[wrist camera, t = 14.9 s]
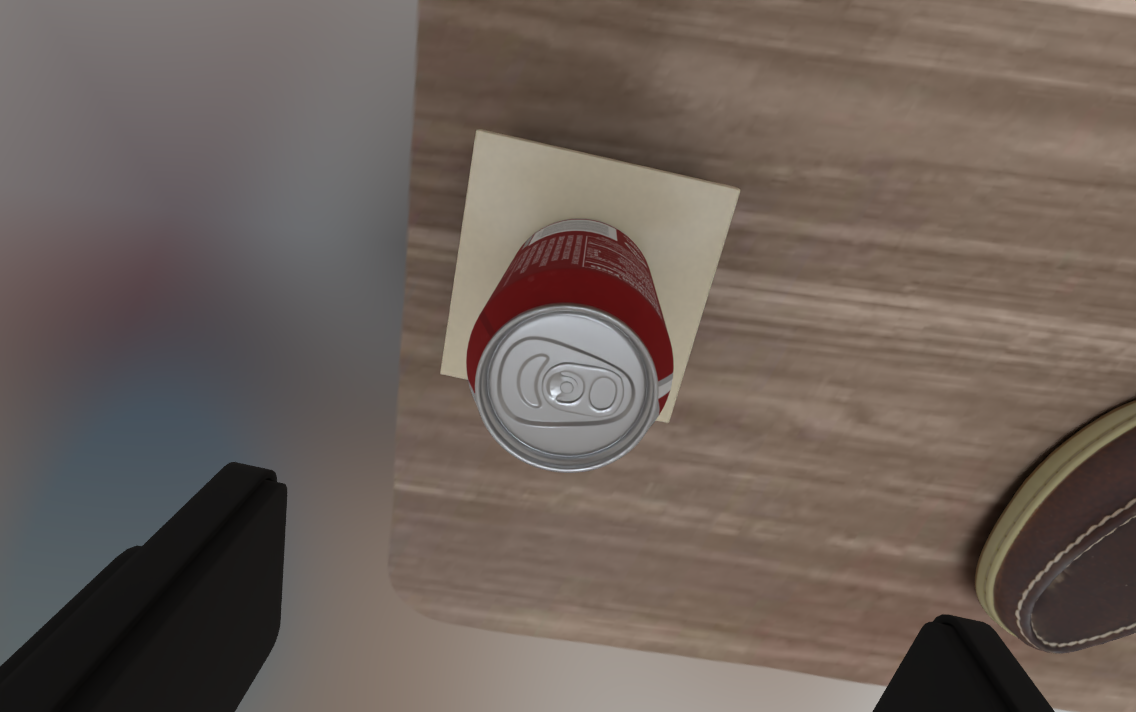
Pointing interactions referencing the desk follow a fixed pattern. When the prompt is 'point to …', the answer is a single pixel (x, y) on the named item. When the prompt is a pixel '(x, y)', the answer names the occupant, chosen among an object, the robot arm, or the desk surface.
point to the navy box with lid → (593, 191)
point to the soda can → (571, 349)
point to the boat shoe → (1069, 543)
